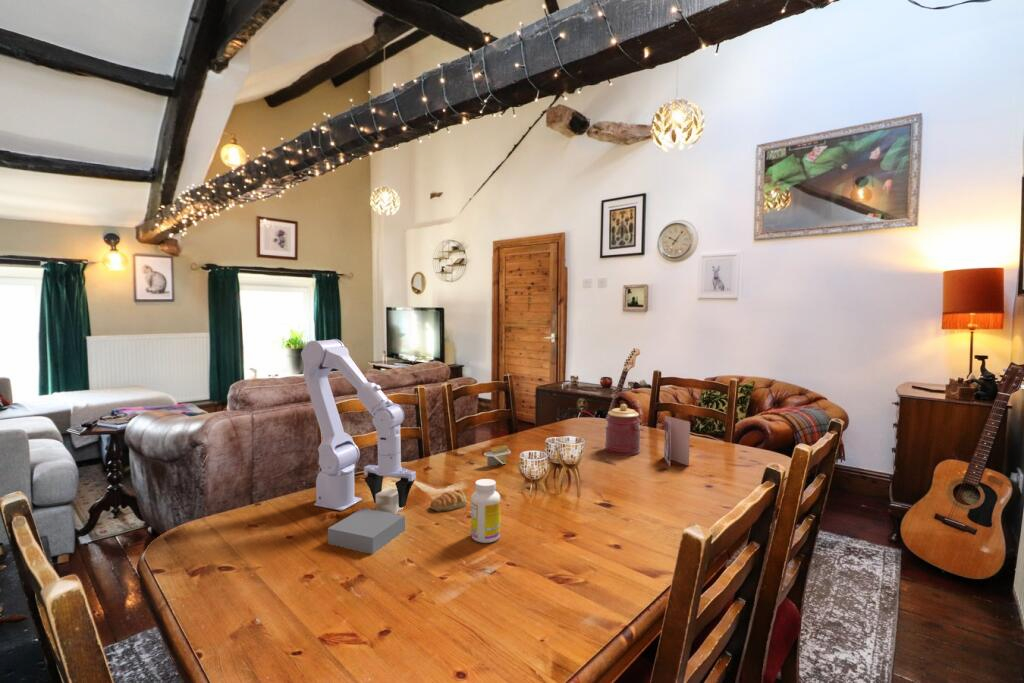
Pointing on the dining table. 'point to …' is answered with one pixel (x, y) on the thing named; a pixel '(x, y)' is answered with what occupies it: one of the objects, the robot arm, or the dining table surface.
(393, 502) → the cream block
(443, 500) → the pastry
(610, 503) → the dining table surface
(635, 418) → the canister
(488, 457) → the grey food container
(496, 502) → the supplement bottle
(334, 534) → the gray panel
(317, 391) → the robot arm
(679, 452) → the greeting card
